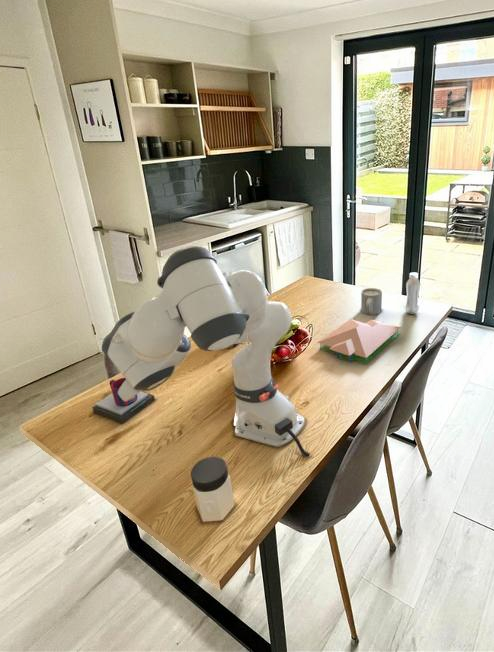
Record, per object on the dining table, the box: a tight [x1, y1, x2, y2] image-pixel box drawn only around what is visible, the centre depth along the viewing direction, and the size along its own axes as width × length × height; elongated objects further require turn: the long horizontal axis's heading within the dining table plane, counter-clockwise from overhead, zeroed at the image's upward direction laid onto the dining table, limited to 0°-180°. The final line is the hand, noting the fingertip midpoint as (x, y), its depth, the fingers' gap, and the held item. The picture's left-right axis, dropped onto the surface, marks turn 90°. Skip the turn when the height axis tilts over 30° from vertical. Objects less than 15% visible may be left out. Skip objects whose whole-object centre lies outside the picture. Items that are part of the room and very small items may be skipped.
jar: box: [190, 456, 236, 523], centre depth 93 cm, size 9×8×12 cm
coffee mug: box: [360, 287, 383, 315], centre depth 195 cm, size 13×10×10 cm
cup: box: [109, 377, 138, 406], centre depth 131 cm, size 7×10×7 cm
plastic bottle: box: [404, 272, 421, 315], centre depth 190 cm, size 6×7×20 cm
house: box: [317, 318, 401, 365], centre depth 166 cm, size 23×33×8 cm
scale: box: [91, 391, 156, 424], centre depth 133 cm, size 14×13×3 cm
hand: (142, 386), depth 126 cm, fingers open, 8 cm apart
